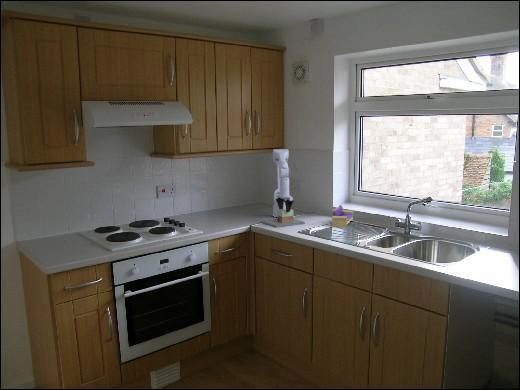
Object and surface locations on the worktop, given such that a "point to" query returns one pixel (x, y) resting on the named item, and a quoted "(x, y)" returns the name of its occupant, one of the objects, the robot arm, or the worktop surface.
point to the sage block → (284, 213)
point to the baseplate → (279, 224)
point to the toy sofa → (341, 217)
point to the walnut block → (284, 219)
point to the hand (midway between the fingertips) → (284, 211)
